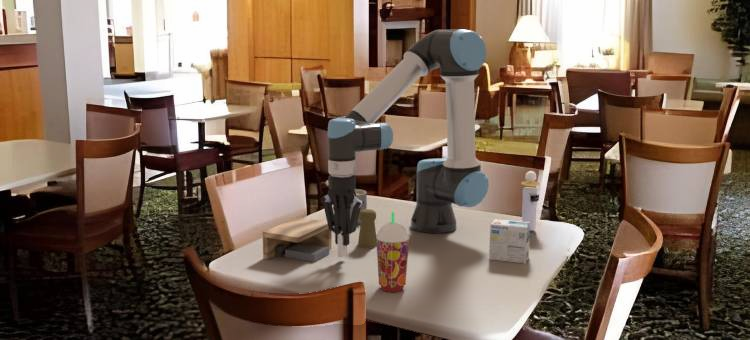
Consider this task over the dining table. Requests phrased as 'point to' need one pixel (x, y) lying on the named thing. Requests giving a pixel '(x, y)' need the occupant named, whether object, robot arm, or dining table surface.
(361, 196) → the coffee mug
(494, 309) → the dining table surface
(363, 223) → the cork
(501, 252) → the light bulb box
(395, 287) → the smoothie
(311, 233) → the oak shelf
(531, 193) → the perfume bottle
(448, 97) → the robot arm
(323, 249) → the slate board
